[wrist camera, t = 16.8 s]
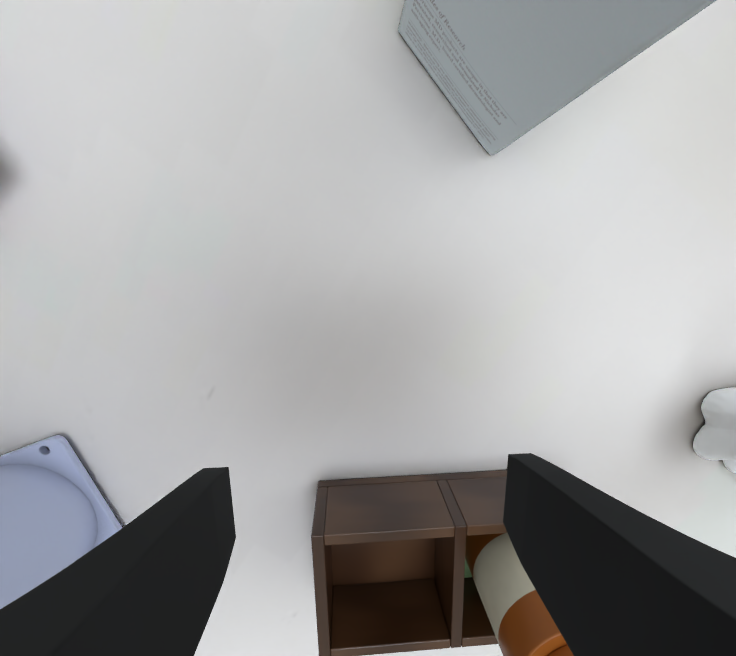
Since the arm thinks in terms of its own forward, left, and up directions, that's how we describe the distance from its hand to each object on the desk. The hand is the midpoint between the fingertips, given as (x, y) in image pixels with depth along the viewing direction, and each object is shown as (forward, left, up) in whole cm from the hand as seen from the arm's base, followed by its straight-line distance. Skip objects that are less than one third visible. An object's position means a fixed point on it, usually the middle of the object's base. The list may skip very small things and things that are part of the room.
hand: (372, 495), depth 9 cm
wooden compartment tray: (+1, -11, -10) cm, 15 cm away
